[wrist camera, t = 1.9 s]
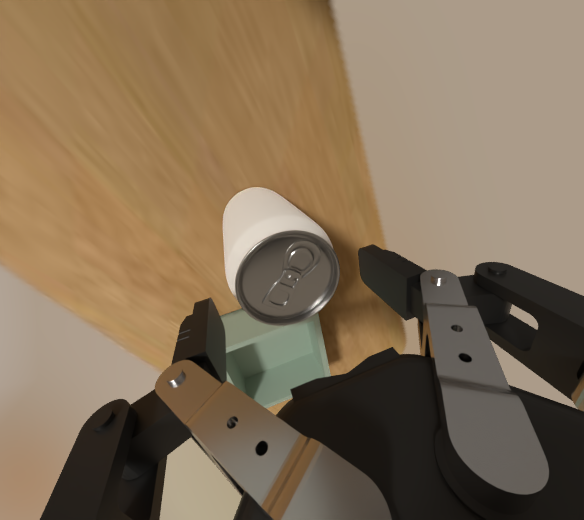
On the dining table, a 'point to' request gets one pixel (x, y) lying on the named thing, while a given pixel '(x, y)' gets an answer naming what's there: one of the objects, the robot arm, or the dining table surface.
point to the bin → (272, 356)
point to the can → (277, 258)
